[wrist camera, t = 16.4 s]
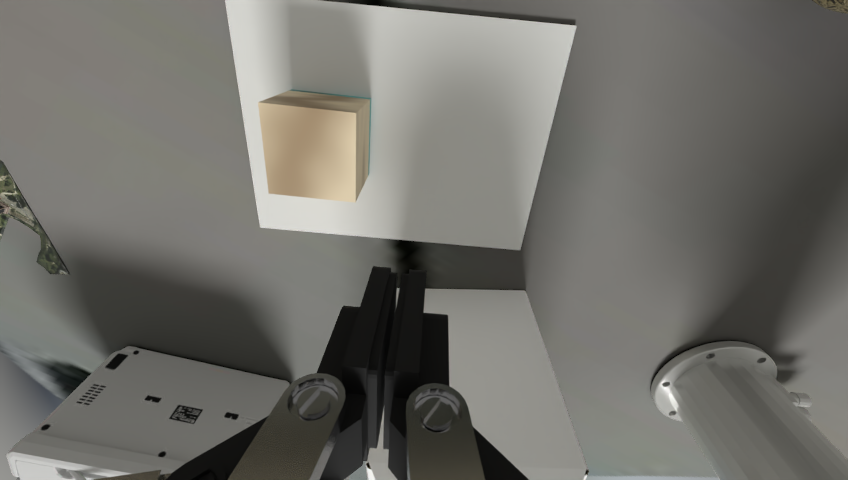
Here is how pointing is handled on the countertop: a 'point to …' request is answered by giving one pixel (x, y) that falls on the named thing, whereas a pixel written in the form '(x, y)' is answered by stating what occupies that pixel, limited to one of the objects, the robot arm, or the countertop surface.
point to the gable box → (503, 384)
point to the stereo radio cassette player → (143, 417)
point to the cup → (834, 5)
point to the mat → (410, 113)
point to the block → (316, 144)
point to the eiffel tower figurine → (25, 221)
